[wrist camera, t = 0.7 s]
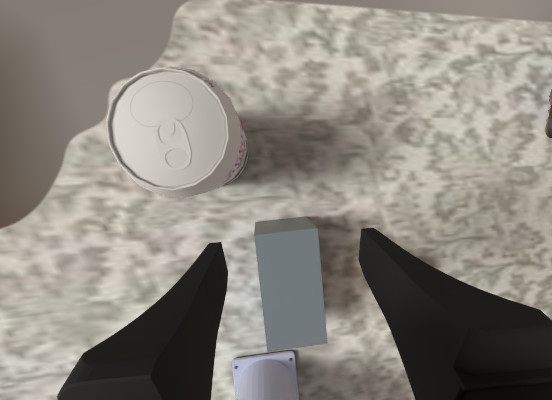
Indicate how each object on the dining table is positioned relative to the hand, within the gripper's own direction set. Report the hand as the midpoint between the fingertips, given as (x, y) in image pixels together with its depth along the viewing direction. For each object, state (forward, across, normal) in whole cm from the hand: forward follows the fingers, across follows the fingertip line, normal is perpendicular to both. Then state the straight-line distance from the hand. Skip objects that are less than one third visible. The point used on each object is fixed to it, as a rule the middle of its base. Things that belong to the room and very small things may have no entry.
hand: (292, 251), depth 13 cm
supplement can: (+19, +7, 0) cm, 20 cm away
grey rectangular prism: (+14, 0, +14) cm, 20 cm away
